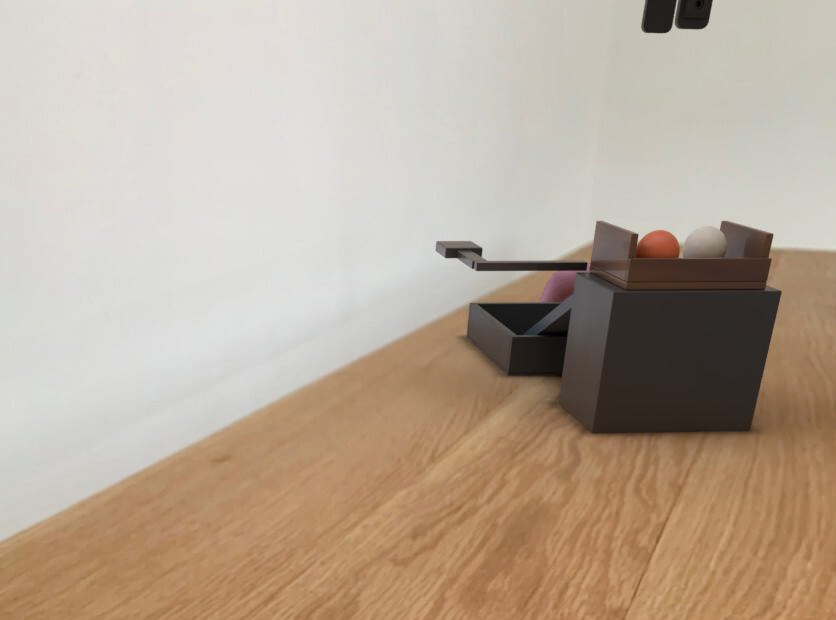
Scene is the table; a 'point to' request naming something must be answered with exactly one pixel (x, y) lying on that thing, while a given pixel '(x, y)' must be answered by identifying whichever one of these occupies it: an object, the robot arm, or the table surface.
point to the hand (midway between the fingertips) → (671, 31)
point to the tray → (516, 337)
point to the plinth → (665, 357)
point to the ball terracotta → (658, 245)
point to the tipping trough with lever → (647, 261)
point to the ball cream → (705, 243)
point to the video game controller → (560, 286)
